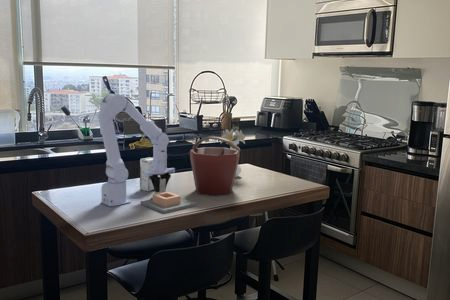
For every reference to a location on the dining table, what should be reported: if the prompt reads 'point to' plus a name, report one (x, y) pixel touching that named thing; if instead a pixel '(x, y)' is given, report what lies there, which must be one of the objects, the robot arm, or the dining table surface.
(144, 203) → the well board
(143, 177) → the syrup box
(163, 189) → the steel block
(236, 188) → the dining table surface
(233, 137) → the flower vase
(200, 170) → the bucket
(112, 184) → the robot arm
